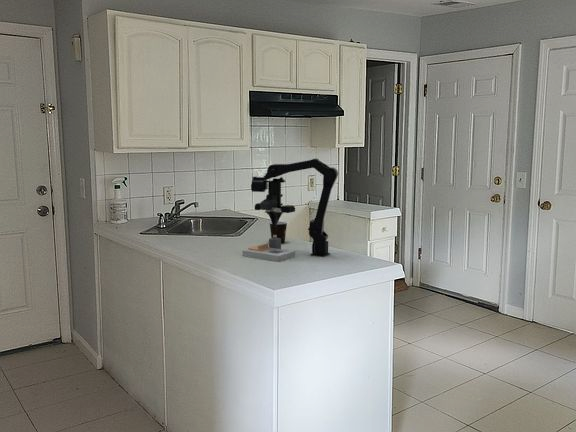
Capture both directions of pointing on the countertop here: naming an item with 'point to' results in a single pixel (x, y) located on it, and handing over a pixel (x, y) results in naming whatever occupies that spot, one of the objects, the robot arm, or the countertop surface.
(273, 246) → the plug
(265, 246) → the shutter
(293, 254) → the socket plate
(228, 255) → the countertop surface
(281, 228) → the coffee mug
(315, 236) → the robot arm
